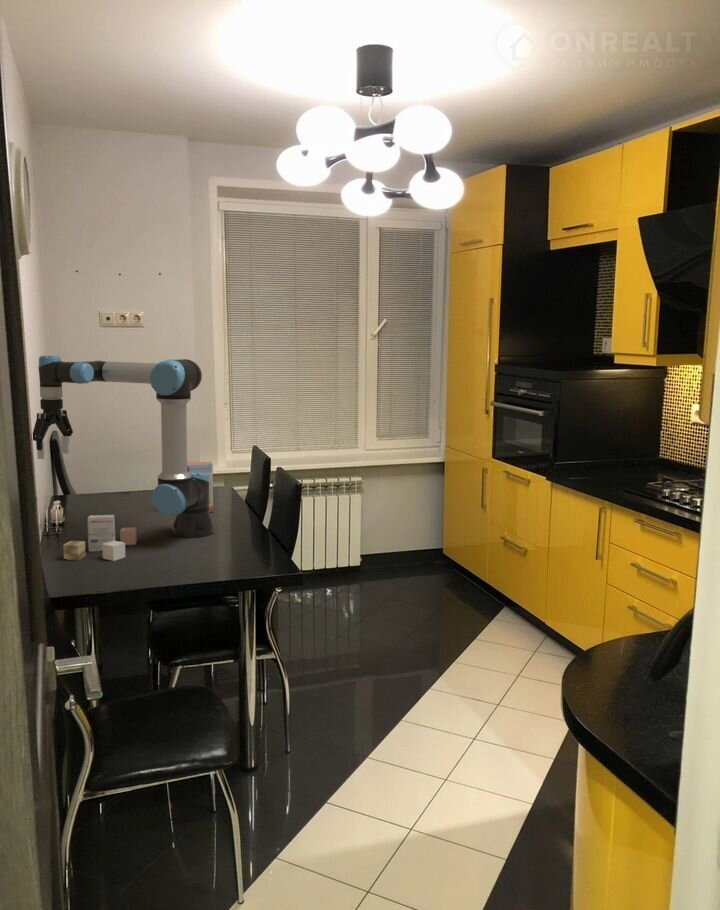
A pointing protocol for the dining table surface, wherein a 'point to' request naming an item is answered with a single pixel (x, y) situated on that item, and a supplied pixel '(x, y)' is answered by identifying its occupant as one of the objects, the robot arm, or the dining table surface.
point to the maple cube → (74, 550)
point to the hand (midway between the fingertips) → (53, 456)
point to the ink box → (100, 531)
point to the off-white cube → (113, 550)
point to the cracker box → (208, 469)
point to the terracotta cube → (128, 536)
